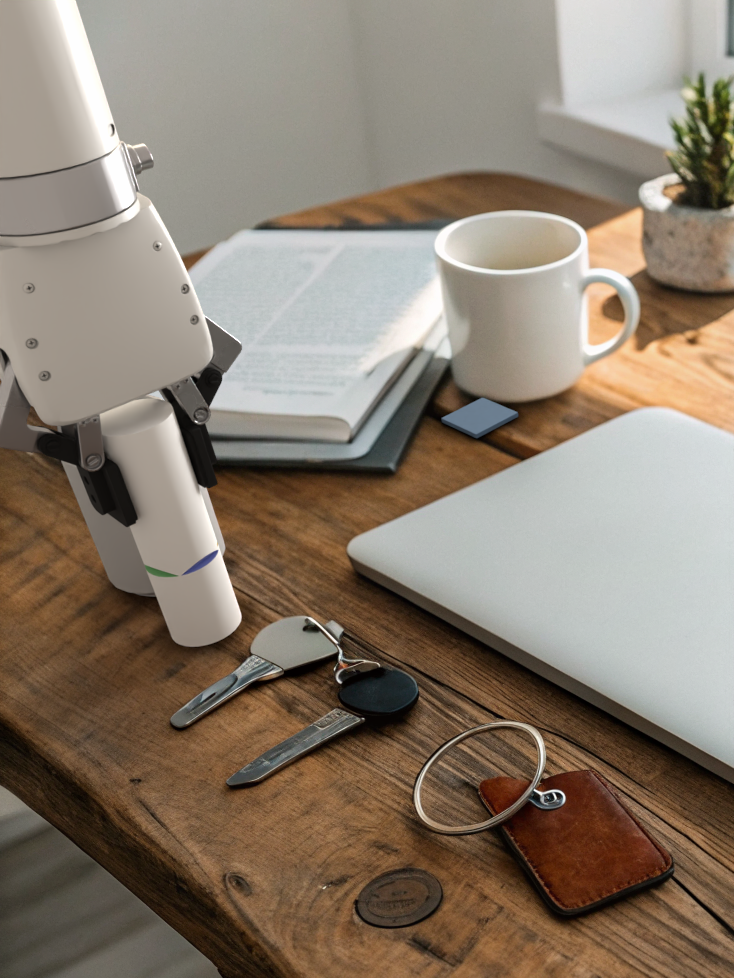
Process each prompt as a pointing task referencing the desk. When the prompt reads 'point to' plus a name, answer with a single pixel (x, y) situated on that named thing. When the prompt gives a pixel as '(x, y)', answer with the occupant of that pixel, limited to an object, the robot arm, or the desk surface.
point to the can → (123, 538)
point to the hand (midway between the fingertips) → (160, 495)
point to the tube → (171, 522)
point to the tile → (479, 417)
